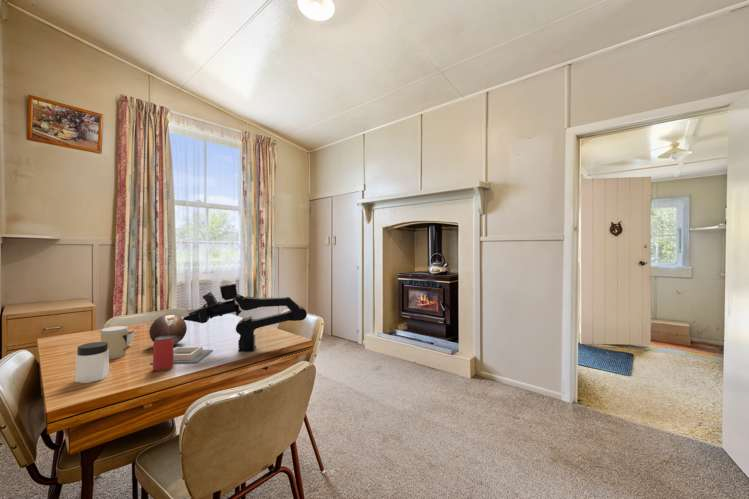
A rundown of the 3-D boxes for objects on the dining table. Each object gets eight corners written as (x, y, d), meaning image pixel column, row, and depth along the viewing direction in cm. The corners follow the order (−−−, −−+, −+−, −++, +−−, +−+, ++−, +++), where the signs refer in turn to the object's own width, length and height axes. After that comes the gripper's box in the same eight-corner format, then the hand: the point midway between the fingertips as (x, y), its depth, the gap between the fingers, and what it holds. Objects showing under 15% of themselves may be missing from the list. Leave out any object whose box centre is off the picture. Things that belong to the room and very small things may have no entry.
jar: (106, 372, 120) (106, 340, 120) (111, 377, 114) (111, 344, 114) (73, 379, 113) (74, 345, 113) (77, 385, 108) (77, 350, 108)
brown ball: (158, 352, 143) (159, 319, 143) (143, 347, 151) (143, 315, 151) (192, 344, 155) (193, 313, 155) (176, 339, 163) (177, 310, 163)
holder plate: (212, 350, 146) (212, 344, 146) (197, 363, 130) (197, 356, 130) (170, 351, 144) (170, 345, 144) (150, 364, 128) (150, 357, 128)
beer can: (177, 365, 127) (177, 335, 127) (164, 372, 120) (165, 340, 120) (161, 365, 127) (162, 335, 127) (148, 371, 121) (148, 339, 121)
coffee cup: (129, 356, 138) (130, 328, 138) (101, 361, 131) (101, 332, 131) (125, 351, 144) (125, 324, 144) (98, 356, 137) (98, 328, 137)
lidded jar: (104, 346, 150) (104, 327, 150) (133, 342, 157) (133, 323, 157) (104, 352, 142) (104, 331, 142) (134, 348, 149) (134, 328, 149)
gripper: (223, 288, 154) (188, 296, 150) (216, 293, 136) (176, 302, 132) (228, 311, 155) (193, 319, 150) (222, 319, 137) (181, 328, 132)
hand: (186, 316), depth 141 cm, fingers open, 9 cm apart
